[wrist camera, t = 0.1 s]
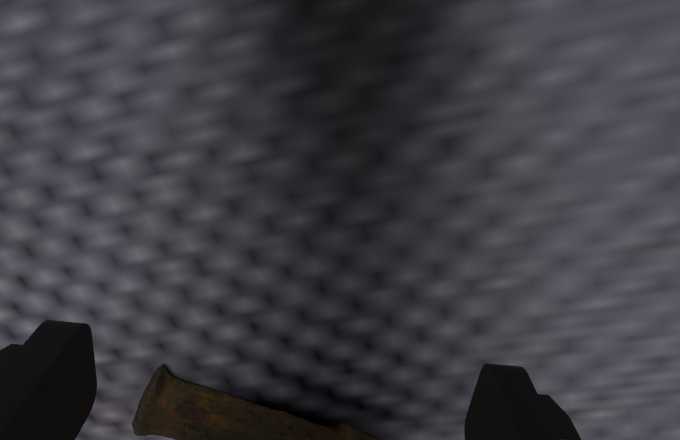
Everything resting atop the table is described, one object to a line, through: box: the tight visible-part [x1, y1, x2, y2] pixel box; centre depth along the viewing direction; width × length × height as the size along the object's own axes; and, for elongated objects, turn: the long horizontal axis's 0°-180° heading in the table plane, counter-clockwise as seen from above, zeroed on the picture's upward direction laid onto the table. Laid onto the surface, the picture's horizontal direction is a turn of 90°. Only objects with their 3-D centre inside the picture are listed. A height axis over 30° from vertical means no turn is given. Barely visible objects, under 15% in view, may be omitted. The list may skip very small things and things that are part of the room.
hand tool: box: [132, 364, 379, 440], centre depth 34 cm, size 19×4×5 cm, turn 64°
